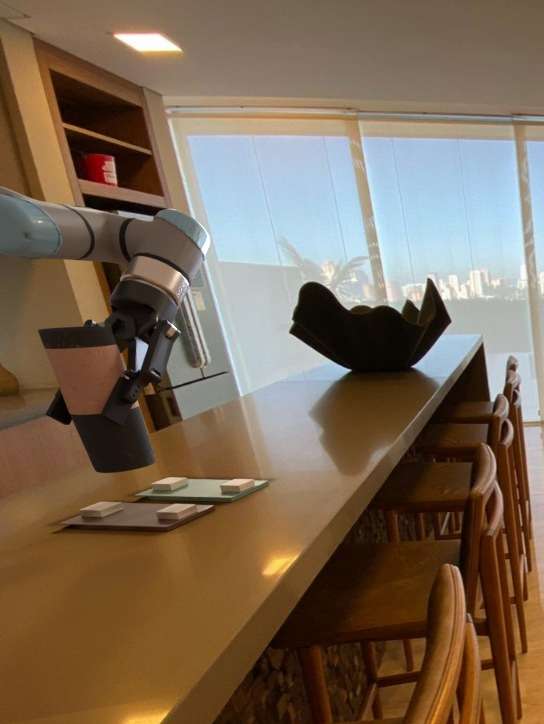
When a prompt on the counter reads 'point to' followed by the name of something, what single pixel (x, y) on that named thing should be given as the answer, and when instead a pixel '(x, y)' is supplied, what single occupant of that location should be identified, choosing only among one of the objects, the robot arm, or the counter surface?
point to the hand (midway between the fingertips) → (84, 420)
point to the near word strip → (136, 516)
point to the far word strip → (201, 489)
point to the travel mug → (96, 396)
